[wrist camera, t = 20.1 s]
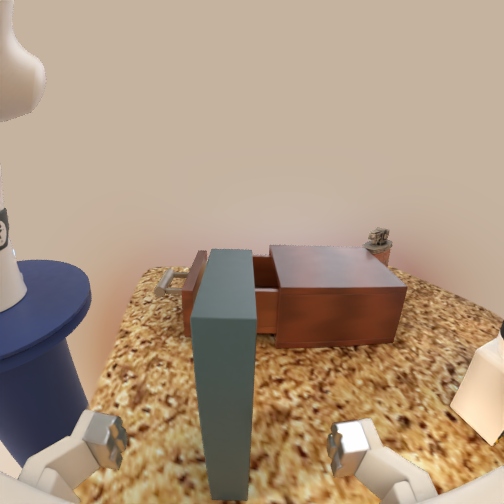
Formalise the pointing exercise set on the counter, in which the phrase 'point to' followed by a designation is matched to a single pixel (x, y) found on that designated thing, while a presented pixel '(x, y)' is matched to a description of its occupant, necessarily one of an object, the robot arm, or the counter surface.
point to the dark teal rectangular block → (226, 368)
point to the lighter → (379, 245)
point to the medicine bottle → (484, 391)
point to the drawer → (263, 282)
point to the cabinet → (334, 297)
